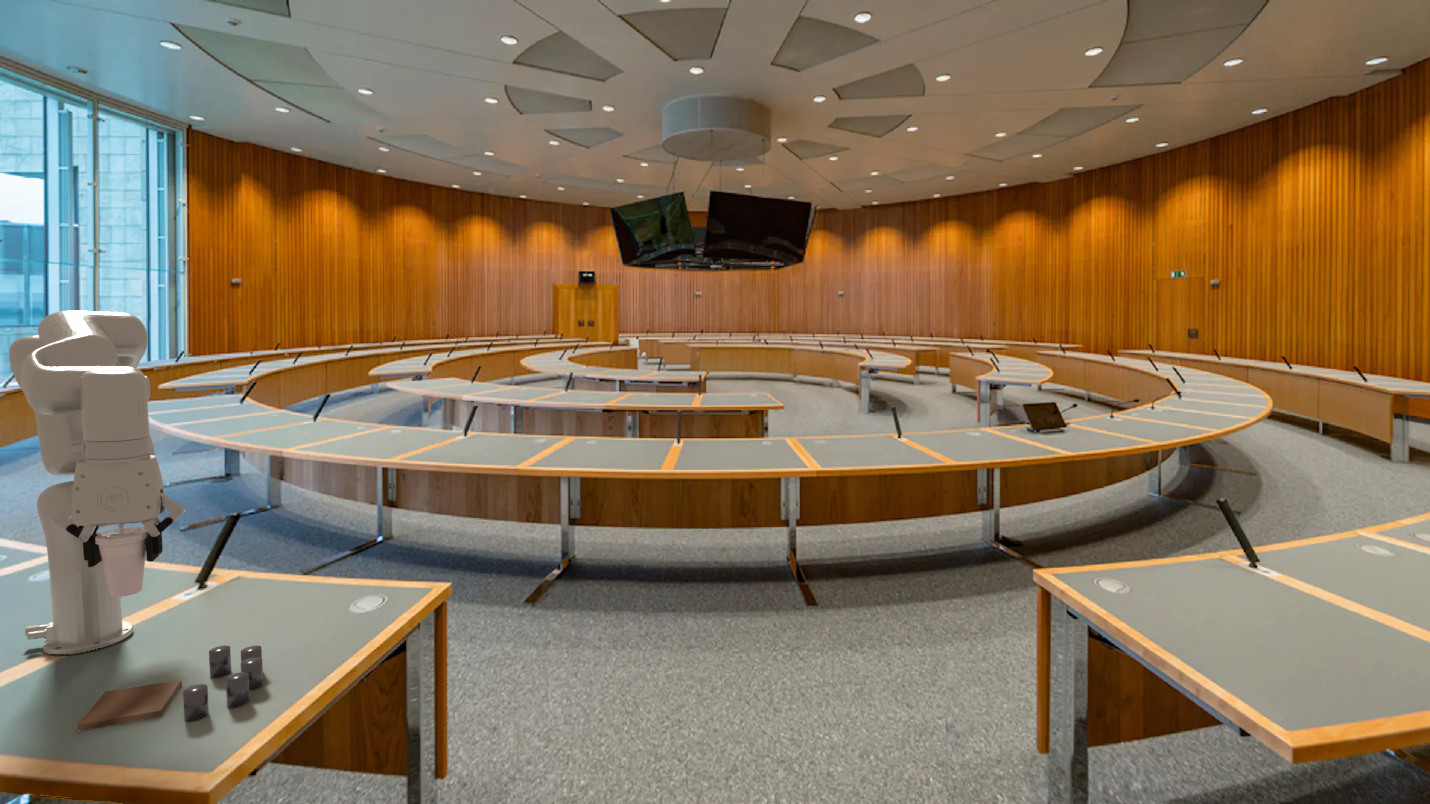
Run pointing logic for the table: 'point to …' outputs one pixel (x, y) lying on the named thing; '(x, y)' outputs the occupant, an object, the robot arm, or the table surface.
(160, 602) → the table surface
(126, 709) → the walnut pad
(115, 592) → the smoothie
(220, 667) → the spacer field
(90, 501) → the robot arm
